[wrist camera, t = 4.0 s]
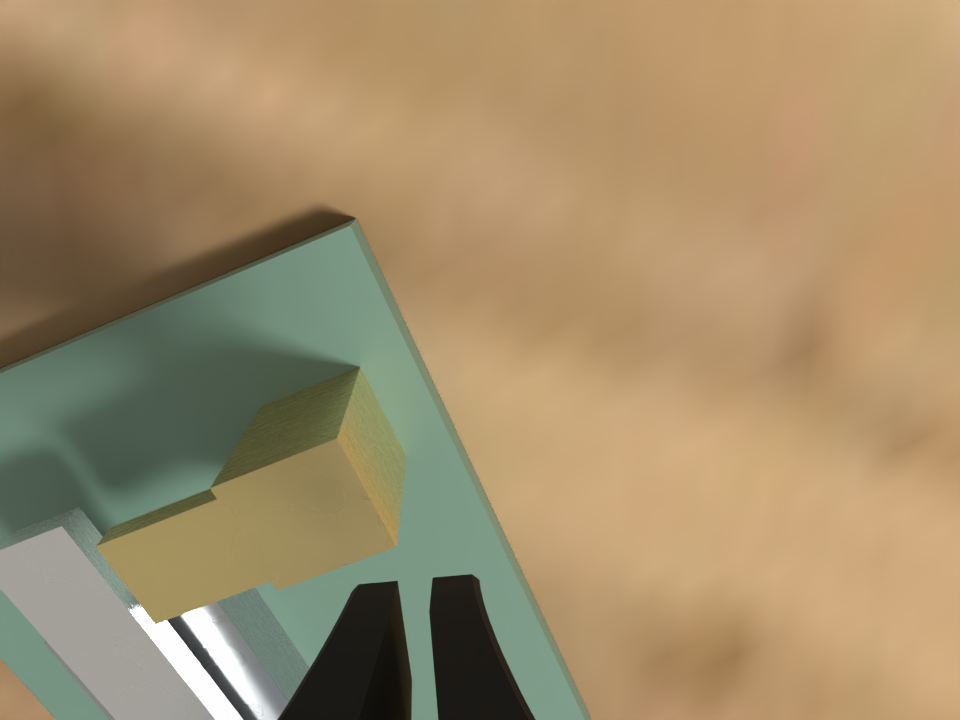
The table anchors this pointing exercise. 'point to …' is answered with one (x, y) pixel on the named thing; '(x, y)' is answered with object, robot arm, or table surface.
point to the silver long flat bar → (104, 625)
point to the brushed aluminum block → (238, 654)
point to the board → (219, 427)
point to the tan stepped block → (273, 505)
